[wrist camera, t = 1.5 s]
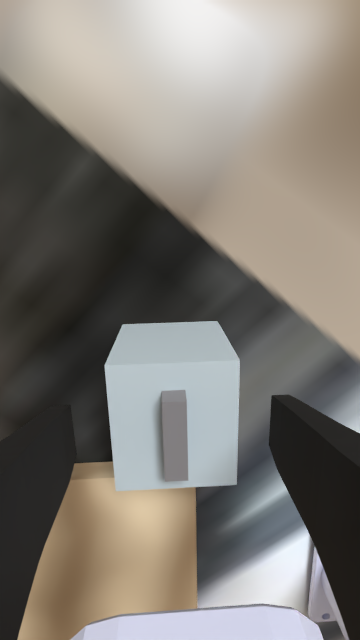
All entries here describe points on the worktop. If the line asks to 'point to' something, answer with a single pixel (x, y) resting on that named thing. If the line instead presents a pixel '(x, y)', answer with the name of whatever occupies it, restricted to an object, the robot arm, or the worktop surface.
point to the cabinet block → (173, 406)
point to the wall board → (112, 555)
